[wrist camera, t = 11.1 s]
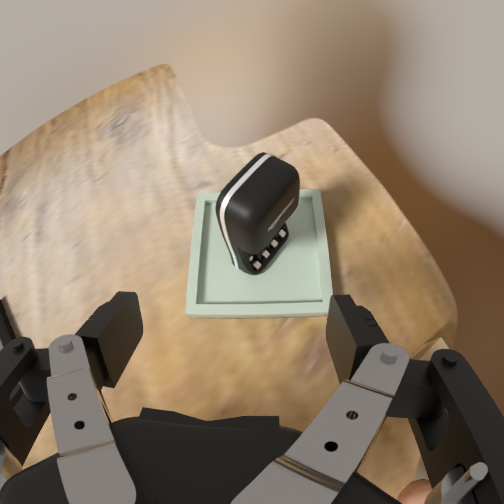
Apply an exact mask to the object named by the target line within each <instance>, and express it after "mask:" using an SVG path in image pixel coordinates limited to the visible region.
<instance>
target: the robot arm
mask: <svg viewBox="0 0 504 504" xmlns="http://www.w3.org/2000/svg"><path fill="white" fill-rule="evenodd" d="M142 335H143V322H142V317H141V312H140V307H139V301H138V296H137V294H136V293H135V292H122V291H119V292H117V293H116V294H115V296H114V297H113V298H112V299H111V300H110V301H109V302H106V303H105V304H103V305H101V306H100V307H98V308H97V309H96V311H95V312H94V313H93V315H91V316H90V317H89V319H88V320H87V321H86V322H85V323H84V324H83V325H82V327H81V328H80V329H79V330H78V331H77V332H76V334H75V335H64V336H61V337H58V338H56V339H55V340H54V341H52V343H51V344H50V345H49V348H45V349H35V347H34V345H33V342H32V340H31V339H30V338H27V337H19V338H15V339H13V340H11V341H10V342H8V343H7V344H6V345H5V346H4V347H3V348H2V350H1V351H0V504H402V503H401V502H399V501H398V500H396V499H395V498H393V497H392V496H390V495H389V494H387V493H386V492H384V491H383V490H381V489H380V488H378V487H377V486H376V485H374V484H373V483H371V482H370V481H368V480H367V479H366V478H364V477H363V476H362V475H360V474H359V473H357V471H358V470H359V468H360V466H361V465H362V463H363V461H364V459H365V457H366V456H367V454H368V452H369V450H370V448H371V447H372V445H373V443H374V441H375V439H376V437H377V435H378V433H379V431H380V430H381V428H382V426H383V424H384V422H385V420H386V417H387V416H388V417H399V418H408V420H409V423H410V425H411V428H412V431H413V433H414V436H415V439H416V442H417V445H418V448H419V450H420V453H421V456H422V459H423V462H424V465H425V468H426V471H427V475H428V478H429V481H430V484H431V487H432V491H431V492H430V493H429V494H428V495H427V497H426V499H425V503H424V504H504V417H503V415H502V413H501V412H500V410H499V409H498V407H497V405H496V404H495V402H494V401H493V399H492V397H491V396H490V394H489V393H488V391H487V390H486V388H485V387H484V386H483V384H482V382H481V381H480V379H479V378H478V376H477V375H476V373H475V372H474V371H473V369H472V368H471V366H470V365H469V364H468V362H467V361H466V359H465V358H464V357H463V356H462V355H461V354H460V353H458V352H456V351H454V350H451V349H439V350H436V351H435V352H434V353H433V354H432V356H431V359H430V361H425V360H414V359H409V355H408V353H407V352H406V350H404V349H403V348H402V347H400V346H398V345H395V344H391V343H389V341H388V340H387V338H386V336H385V335H384V333H383V331H382V330H381V328H380V327H379V326H378V323H377V322H376V320H375V318H374V317H373V315H372V314H371V312H370V311H369V310H367V309H366V308H364V307H363V306H356V304H355V303H354V301H353V299H352V298H351V296H350V295H349V294H347V295H331V297H330V302H329V310H328V318H327V325H326V340H327V344H328V347H329V351H330V354H331V357H332V360H333V363H334V366H335V369H336V373H337V376H338V379H339V382H340V386H339V387H338V389H337V390H336V392H335V393H334V394H333V396H332V397H331V398H330V400H329V401H328V402H327V404H326V405H325V406H324V407H323V409H322V410H321V411H320V413H319V414H318V415H317V416H316V418H315V419H314V420H313V421H312V423H311V424H310V425H309V426H308V427H307V429H306V430H305V431H304V432H300V431H298V430H295V429H292V428H288V427H284V426H279V416H241V417H235V418H229V419H222V420H214V421H204V420H200V419H197V418H193V417H190V416H187V415H183V414H180V413H177V412H174V411H166V410H158V409H151V408H144V407H143V408H142V410H141V413H140V416H139V417H130V418H125V419H121V420H118V421H115V422H113V420H112V417H111V415H110V412H109V410H108V407H107V405H106V402H105V399H104V397H103V394H102V392H101V389H102V387H103V386H105V387H111V388H115V386H116V384H117V382H118V380H119V378H120V377H121V375H122V373H123V371H124V369H125V367H126V365H127V364H128V362H129V360H130V358H131V356H132V354H133V353H134V351H135V349H136V347H137V345H138V343H139V342H140V340H141V338H142ZM18 382H19V384H20V386H21V388H22V390H23V392H24V393H23V395H22V396H21V398H20V399H19V401H18V402H17V404H16V405H15V407H14V408H13V407H12V406H11V403H10V394H11V392H12V391H13V389H14V388H15V387H16V385H17V384H18ZM446 410H447V411H446ZM50 412H51V416H52V422H53V428H54V433H55V438H56V442H57V447H58V451H59V452H58V453H56V454H54V455H52V456H50V457H48V458H46V459H44V460H42V461H40V462H38V463H36V464H34V465H32V466H30V467H28V468H26V469H24V470H22V466H23V464H24V462H25V460H26V458H27V456H28V454H29V452H30V450H31V448H32V446H33V444H34V442H35V440H36V438H37V436H38V434H39V433H40V431H41V429H42V427H43V425H44V423H45V421H46V420H47V418H48V416H49V414H50ZM447 412H448V413H447ZM448 415H449V416H448Z"/></svg>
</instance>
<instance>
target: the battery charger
mask: <svg viewBox="0 0 504 504" xmlns="http://www.w3.org/2000/svg"><path fill="white" fill-rule="evenodd" d="M299 193H300V179H299V174H298V172H297V170H296V169H295V167H293V166H292V165H290V164H289V163H287V162H285V161H283V160H280V159H278V158H277V157H276V156H275V155H273V154H271V153H264V152H262V153H259V154H258V155H256V156H255V157H254V158H253V159H252V160H251V161H250V162H249V163H248V164H247V165H246V166H245V167H244V168H243V169H242V170H241V171H240V172H239V173H238V174H237V175H236V176H235V177H234V178H233V179H232V180H231V181H230V182H229V183H228V184H227V185H226V186H225V188H224V189H223V190H222V191H221V193H220V195H219V196H218V199H217V201H216V207H215V210H216V216H217V220H218V224H219V227H220V230H221V233H222V236H223V238H224V241H225V243H226V246H227V248H228V250H229V253H230V256H231V260H232V264H233V265H234V266H235V267H236V268H237V269H239V270H242V271H243V272H244V273H247V274H249V275H259V274H260V273H261V272H262V271H263V270H264V269H265V268H266V267H267V265H268V264H269V263H270V261H271V260H272V259H273V258H274V256H275V255H276V254H277V252H278V251H279V250H280V249H281V247H282V246H283V245H284V243H285V242H286V240H287V239H288V236H289V231H288V228H287V225H286V223H285V222H286V221H287V220H288V219H289V217H290V216H291V215H292V214H293V212H294V211H295V210H296V208H297V207H298V202H299Z"/></svg>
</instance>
